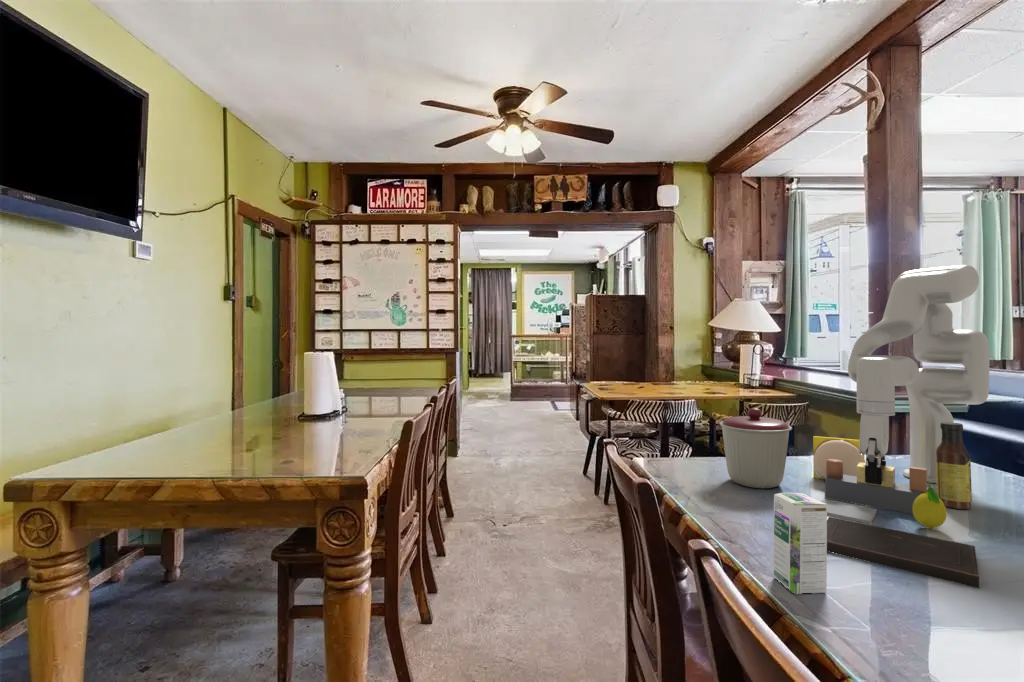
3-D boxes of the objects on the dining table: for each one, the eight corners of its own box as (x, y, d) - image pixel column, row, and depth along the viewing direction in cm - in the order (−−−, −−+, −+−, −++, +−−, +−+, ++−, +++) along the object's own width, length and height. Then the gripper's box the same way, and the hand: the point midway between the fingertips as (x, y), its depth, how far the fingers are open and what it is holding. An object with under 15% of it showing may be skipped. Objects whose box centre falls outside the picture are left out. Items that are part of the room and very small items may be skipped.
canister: (793, 480, 139) (793, 406, 139) (790, 497, 124) (790, 415, 123) (725, 471, 148) (725, 402, 148) (714, 486, 133) (714, 409, 133)
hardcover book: (829, 527, 106) (829, 516, 106) (974, 558, 91) (974, 545, 91) (814, 551, 94) (814, 539, 94) (979, 591, 79) (979, 577, 79)
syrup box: (771, 577, 83) (771, 492, 83) (804, 576, 83) (804, 491, 83) (793, 595, 77) (793, 504, 77) (829, 593, 78) (828, 502, 77)
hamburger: (813, 482, 136) (813, 439, 136) (813, 475, 144) (813, 434, 143) (866, 489, 130) (866, 444, 130) (863, 481, 137) (863, 438, 137)
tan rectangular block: (859, 477, 123) (859, 462, 123) (894, 483, 118) (894, 467, 118) (856, 482, 120) (856, 466, 120) (892, 488, 115) (892, 471, 115)
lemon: (939, 537, 99) (939, 488, 99) (905, 527, 104) (905, 480, 104) (955, 531, 102) (954, 483, 102) (921, 521, 107) (921, 476, 107)
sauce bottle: (978, 511, 113) (978, 426, 113) (947, 509, 114) (947, 425, 114) (959, 502, 119) (958, 421, 119) (929, 500, 121) (929, 420, 121)
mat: (826, 502, 120) (826, 499, 120) (877, 511, 113) (877, 509, 113) (817, 513, 113) (817, 510, 113) (871, 524, 106) (871, 521, 106)
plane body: (829, 491, 129) (829, 453, 129) (930, 509, 115) (930, 466, 115) (823, 497, 124) (823, 458, 123) (928, 517, 110) (928, 472, 110)
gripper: (862, 402, 128) (862, 469, 128) (850, 410, 115) (851, 484, 115) (898, 405, 123) (898, 475, 123) (890, 413, 110) (891, 491, 110)
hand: (875, 479), depth 119 cm, fingers open, 7 cm apart
